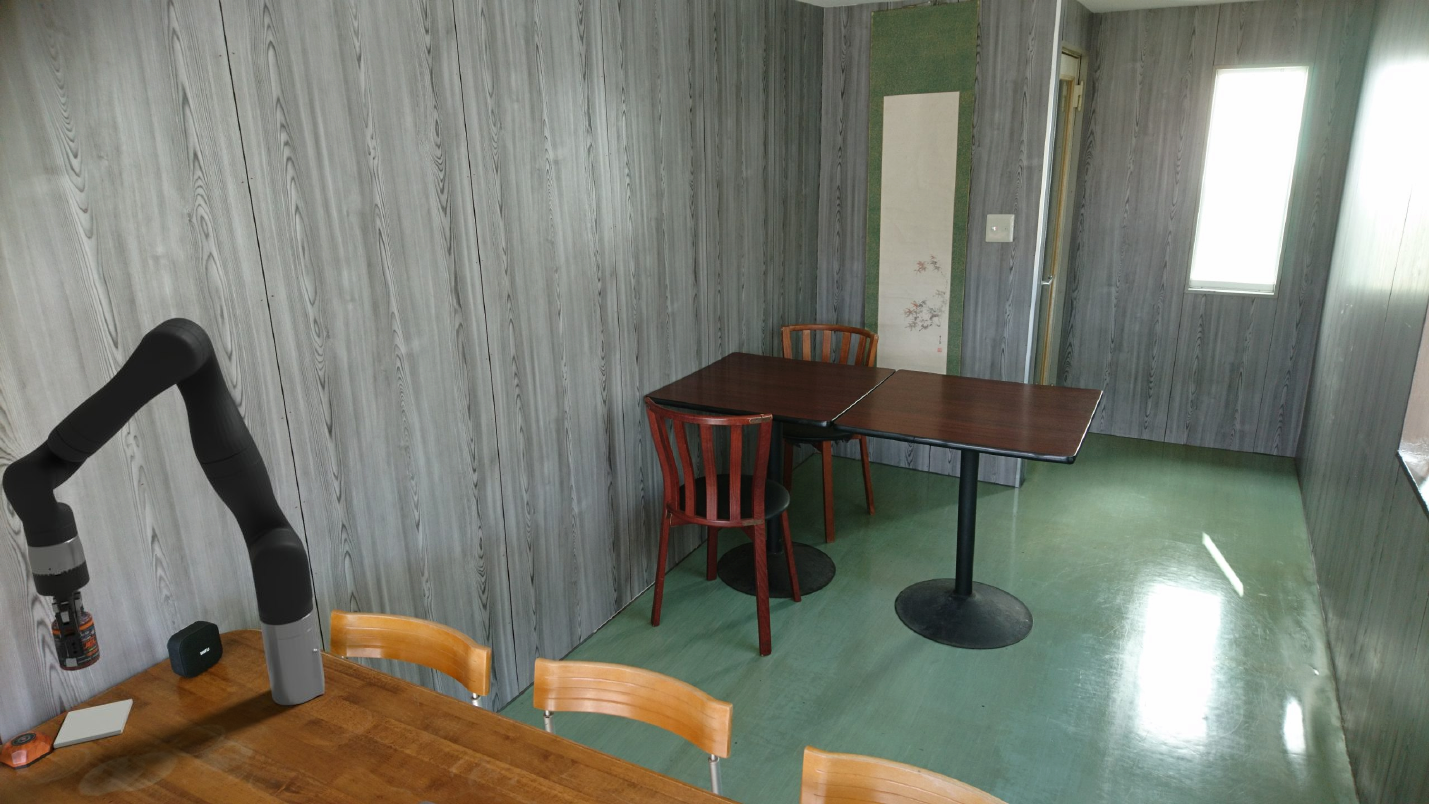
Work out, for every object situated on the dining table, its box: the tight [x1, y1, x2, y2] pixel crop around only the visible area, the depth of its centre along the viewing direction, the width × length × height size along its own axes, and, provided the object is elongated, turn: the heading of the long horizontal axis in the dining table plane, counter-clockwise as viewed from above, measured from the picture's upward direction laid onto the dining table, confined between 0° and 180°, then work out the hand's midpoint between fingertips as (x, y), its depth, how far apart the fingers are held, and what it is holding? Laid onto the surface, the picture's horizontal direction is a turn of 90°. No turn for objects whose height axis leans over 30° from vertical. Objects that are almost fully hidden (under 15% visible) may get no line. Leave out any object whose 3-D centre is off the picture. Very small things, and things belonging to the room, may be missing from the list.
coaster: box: [53, 698, 134, 749], centre depth 156 cm, size 10×10×1 cm
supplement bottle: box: [51, 602, 101, 672], centre depth 151 cm, size 6×6×11 cm
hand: (77, 647), depth 151 cm, fingers closed on supplement bottle, 6 cm apart
